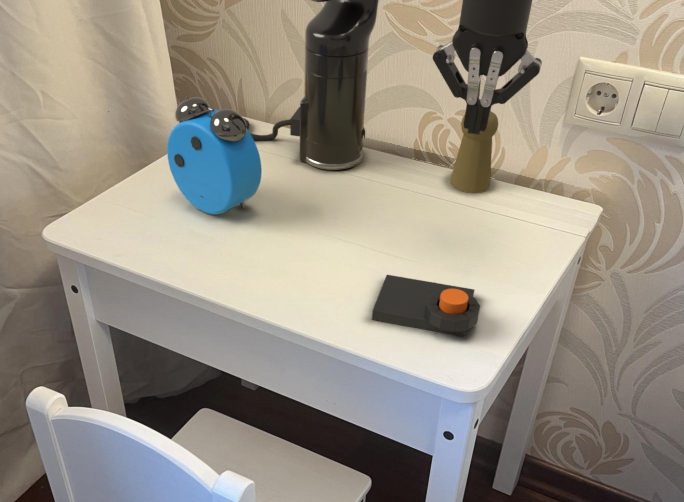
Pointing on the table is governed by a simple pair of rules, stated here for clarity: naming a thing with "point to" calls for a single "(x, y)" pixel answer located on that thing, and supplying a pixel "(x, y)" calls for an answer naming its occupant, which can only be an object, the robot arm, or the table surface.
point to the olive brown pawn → (474, 159)
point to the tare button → (453, 301)
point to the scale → (422, 306)
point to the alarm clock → (213, 157)
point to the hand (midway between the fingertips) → (474, 131)
